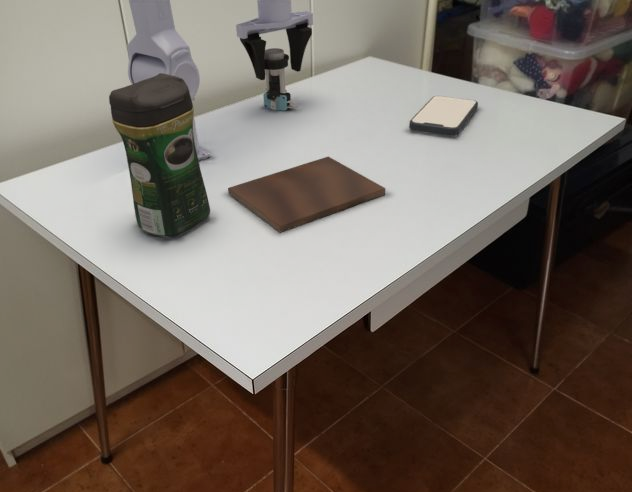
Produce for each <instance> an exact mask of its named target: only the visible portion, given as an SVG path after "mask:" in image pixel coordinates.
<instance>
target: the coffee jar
mask: <svg viewBox="0 0 632 492" xmlns="http://www.w3.org/2000/svg"><path fill="white" fill-rule="evenodd" d="M108 103H109V105H110V112H111V113H110V114H111V120H112V124H113V127H114V128H115V130H116V131H117V132H118V134H119V136H120V137H121V140H122V143H123V146H124V152H125V156H126V160H127V166H128V172H129V179H130V187H131V193H132V202H133V209H134V215H135V219H136V225H137V227H138V228H139V229H140V230H141V231H143V232H144V233H145V234H148V235H150V236H152V237H156V238H168V239H169V238H171V239H172V238H176V237H179V236H181V235H184V234H185V233H187V232H189V231H191V230H192V229H194V228H195V227H198V226H199V225H201V224H202V223H203V222H205V221H206V220H207V219H208V218H209V216H210V215H211V206H210V202H209V201H210V200H209V197H208V192H207V190H206V185H205V181H204V178H203V173H202V169H201V165H200V160H198V156H197V152H196V147H195V142H194V136H193V117H194V118H195V109H194V108H195V107H194V103H193V101H192V100H191V96H190V92H189V89H188V86H187V84H186V83H185V81H184V80H183V79H182V78H179V77H176V76H172V75H168V74H163V73H159V74H158V75H156V76H154V77H151V78H148V79H145V80H142V81H139V82H137V83H134V84H129V85H126V86H124V87H119V88H117V89H116V88H115V89H113V90H112V91H111V92H110V93H109V95H108Z"/></svg>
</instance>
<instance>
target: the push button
mask: <svg viewBox="0 0 632 492" xmlns="http://www.w3.org/2000/svg"><path fill="white" fill-rule="evenodd" d="M264 61H265V84H266V88H265V91H266V92H264V93H263V94H262V95H263V107H264V108H265V109H271V110H273V111H284V112H285V111H287V110H289V109H296V108H298V106H296V105H295V106H294V105H291V104H296V103H297V101H294V100H292V95H291V93H290V92H287V89H286V74H285V73H286V72H285V71H286V69H285V68H288V67H289V61H290V55H289V54H286V53H285V50H284V49H282V48H278V47H277V48H276V47H275V48H274V47H273V48H267V49H266V48H265V60H264Z"/></svg>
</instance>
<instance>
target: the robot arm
mask: <svg viewBox="0 0 632 492" xmlns="http://www.w3.org/2000/svg"><path fill="white" fill-rule="evenodd" d="M128 2H129V7H130V12H131V17H132V20H133V25H134V30H135V35H134V36H133V37H132V38H131V39H130V41H129V42H128V43H127V45H126V49H127V53H128V64H127V65H128V66H127V76H128V80H129V82H130V85H132V84H134V83H137V82H139V81H142V80H145V79H148V78H151V77H154V76H156V75H158V74H159V73H163V74H168V75H172V76H176V77H179V78H182V79H183V80H184V81H185V83H186V84H187V86H188V89H189V92H190V96H191V100H192V102H194V101H195V99H196V96H197V93H198V91H199V88H200V80H201V79H200V78H201V77H200V72H199V68H198V66H197V64H196V63H195V62H194V60H193V58H192V53H191V48H190V46H189V44H188V43H187V41H185V39H183V37H182V36H181V35H180V34H179V32H178V31H177V30H176V26H175V21H174V16H173V10H172V6H171V5H172V4H171V0H128ZM256 2H257V13H258V16H257V17H256V18H253V19H250V20H247V21H243V22H241V23H236V24H235V30H236V31H235V32H236V37H237V38H239V41H240V42H241V45H242V46H243V47H244V49H245V51H246V53H247V55H248V57H249V60H250V62H251V65H252V68H253V72H254V74H255V75H254V76H255V78H256V79H258V80H259V81H266V71H265V61H264V60H265V50H266V47H267V46H266V45H267V41H266V40H265V39H263V38H262V36H260V35H263V34H268V33H273V32H277V31H279V32H280V31H284V30H285V32H286V36H287V41H288V47H289V61H290V69H291V70H293V71H294V72H297V73H298V72H301V70H302V64H303V59H304V55H305V51H306V48H307V46H308V44H309V41H310V39H311V37H312V35H313V28H312V27H310V26H313V25H314V13H313V12H311V11H308V10H304V11H296V12H293V11H292V0H256ZM193 136H194V142H195V147H196V152H197V156H198V161H201V160H203V159H207V158H210V153H209V152H208V151H206V150H205V149H203V148H202V147H201V146H199V139H198V133H197V125H196V118H195V116H194V117H193Z"/></svg>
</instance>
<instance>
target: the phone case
mask: <svg viewBox="0 0 632 492" xmlns="http://www.w3.org/2000/svg"><path fill="white" fill-rule="evenodd" d="M478 106H479V102H478V101H477V100H475V99H468V98H459V97H452V96H444V95H435V96H432V97H431V98H430V99H429V100H428V101H427V102H426V103H425V104H424V105H423V107H422V108H421V109H420V110H419V111H418V112H417V113H415V115H414V116H413V117H412V118H411V119H410V120H409V124H408V128H409V130H411V131H415V132H422V133H428V134H434V135H435V134H436V135H442V136H448V137H449V136H450V137H454V136H458V135H459V134H460V132H461V131H462V130H463V128H464V127H465V126H466V124H467V123H468V122H469V121H470V120H471V118H472V116H473V115H474V114H475V112H476V111H477V110H478Z"/></svg>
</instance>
